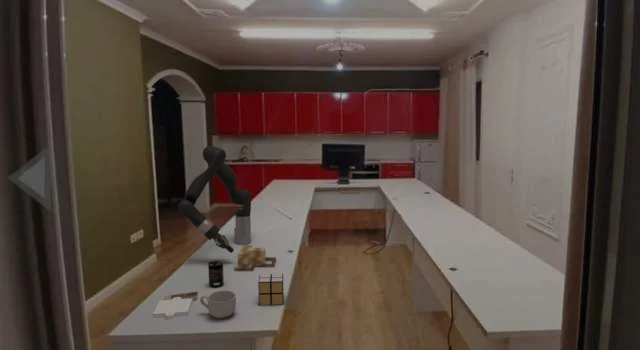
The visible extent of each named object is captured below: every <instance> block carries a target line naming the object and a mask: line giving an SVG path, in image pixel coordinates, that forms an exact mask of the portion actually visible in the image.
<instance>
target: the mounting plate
mask: <svg viewBox="0 0 640 350" xmlns="http://www.w3.org/2000/svg"><path fill="white" fill-rule="evenodd" d="M193 300H194V299H193V298H182V297H181V296H176V297H173V298H172V299H163V300H159V301H158V303H157V306H156V307H155V309H154V311H153V313H152V318H153V319H154V318H165V320H174V319H175V318H176V317H181V316H182V317H184V316H189V314H190V312H191V308H192V305H193Z"/></svg>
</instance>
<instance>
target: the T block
mask: <svg viewBox="0 0 640 350" xmlns="http://www.w3.org/2000/svg"><path fill="white" fill-rule="evenodd" d="M252 246H253V245H252V244H241V247H240V248H239V251H238V252H237V267H250V266H251V265H252V264H267V261H266V247H252Z"/></svg>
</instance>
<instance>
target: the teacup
mask: <svg viewBox="0 0 640 350" xmlns="http://www.w3.org/2000/svg"><path fill="white" fill-rule="evenodd" d="M236 298H237V294H236V292H234V291H233V290H229V289H228V290H227V289H222V290H221V289H220V290H216V291H213V292H211V293H209V294H208V295H207V294H203V295H201V297H200V299H199V301H200V303H201V305H202V306H204V308H206V309H207V310H208V313H209V314H210V315H211V317H214V318H216V319H226V318H229V317H230V316H231V315H232V314H233V313H235V311H236V307H237V302H236V301H237V299H236ZM204 299H206V300H207V302H205V301H204Z"/></svg>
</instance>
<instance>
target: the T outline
mask: <svg viewBox="0 0 640 350" xmlns="http://www.w3.org/2000/svg"><path fill="white" fill-rule="evenodd" d="M266 262H270V263H265V264H252V265H250V266H249V267H238V266H235V267H234V268H233V271H234V272H254V270H255V268H275V266H276V262H277V257H276V256H274V257H273V256H272V257H271V256H269V257H268V256H267V257H266Z"/></svg>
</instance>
